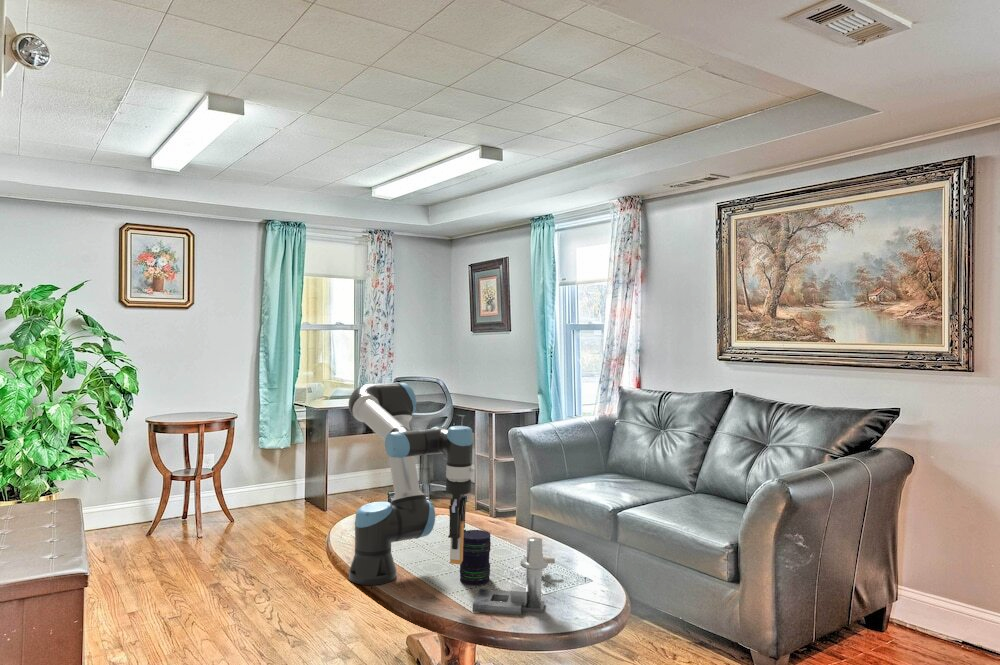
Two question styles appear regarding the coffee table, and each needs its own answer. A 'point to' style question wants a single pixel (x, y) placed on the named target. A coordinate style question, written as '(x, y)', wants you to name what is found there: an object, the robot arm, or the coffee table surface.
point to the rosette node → (517, 597)
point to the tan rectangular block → (460, 545)
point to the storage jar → (475, 558)
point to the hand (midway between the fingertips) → (456, 556)
